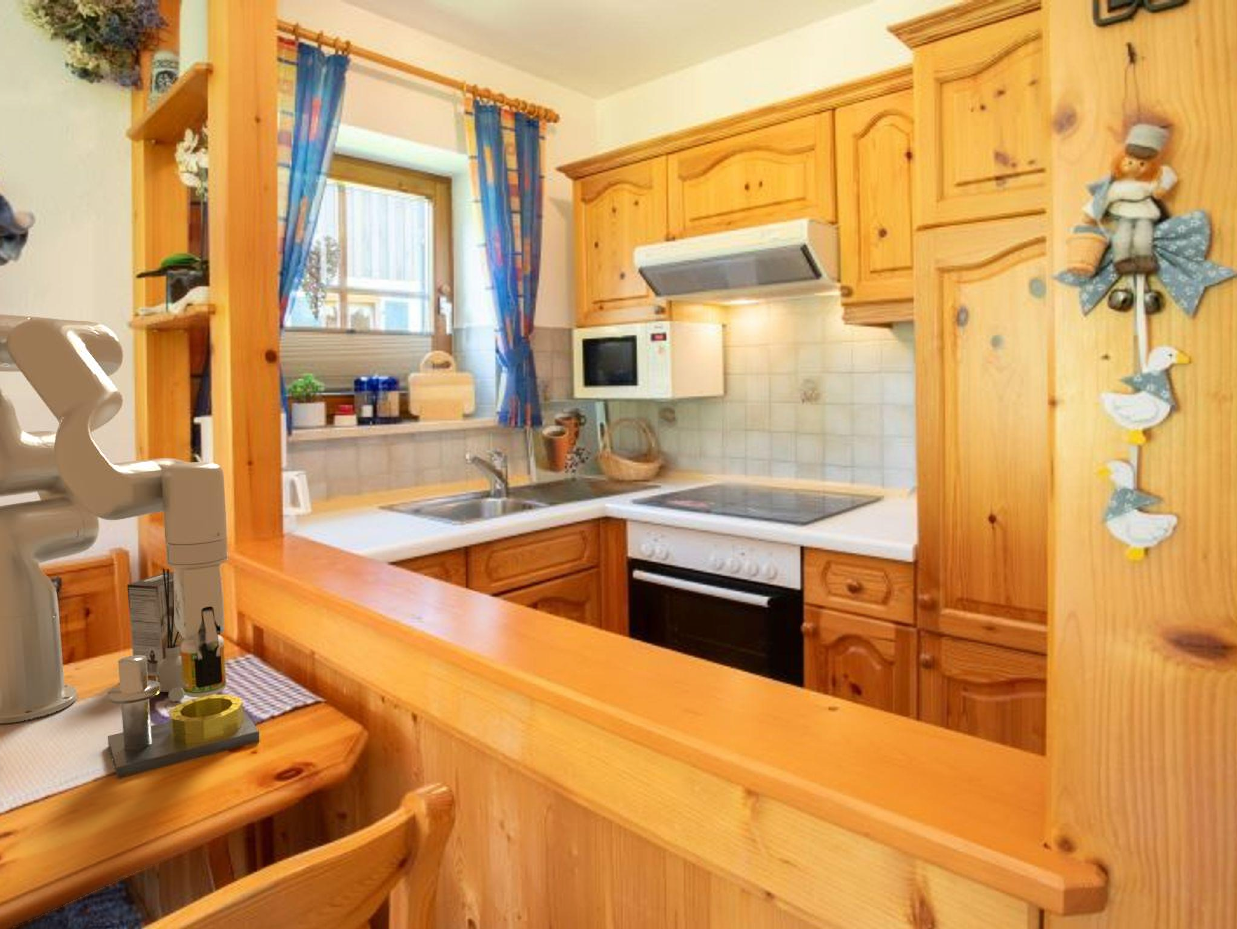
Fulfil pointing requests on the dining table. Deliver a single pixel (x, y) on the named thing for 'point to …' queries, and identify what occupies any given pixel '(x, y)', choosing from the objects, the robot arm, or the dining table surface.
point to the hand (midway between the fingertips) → (204, 676)
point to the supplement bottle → (189, 669)
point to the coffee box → (151, 619)
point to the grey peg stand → (171, 724)
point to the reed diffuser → (170, 658)
